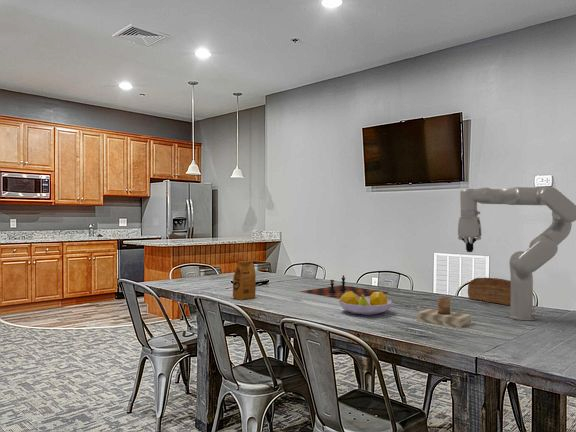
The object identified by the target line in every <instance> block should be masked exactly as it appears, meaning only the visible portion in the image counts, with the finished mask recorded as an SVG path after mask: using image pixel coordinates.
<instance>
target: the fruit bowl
mask: <svg viewBox="0 0 576 432" xmlns="http://www.w3.org/2000/svg"><path fill="white" fill-rule="evenodd" d="M380 291H381V292H373V293H372V294H371V295H370V296H367V297H364V295H362V297H358V295H356V294H355V293H353V292H352V291H349V292H346V293H344V294H343V295H342V296H341V298H340V299H338V300H337V301H338V304H339V305H340V306H341V308H342V309H343V310H345V311H347V312H349V313H351V314H353V315H360V314H361V316H373V315H378V314H382V313H384V312H385V311H387V310H389V309H390V308H391V306H392V300H391V299H388V298H387V295H386V294H384V293H383V292H382V291H383V290H380Z"/></svg>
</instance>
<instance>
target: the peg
mask: <svg viewBox="0 0 576 432" xmlns="http://www.w3.org/2000/svg"><path fill="white" fill-rule="evenodd" d="M437 298H438V299H437V310H438V314H443V315H448V314H450V312H451V298H450V297H446V296H439V297H437Z"/></svg>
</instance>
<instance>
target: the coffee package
mask: <svg viewBox="0 0 576 432" xmlns="http://www.w3.org/2000/svg"><path fill="white" fill-rule="evenodd" d="M236 264H237V266H236V268H235V269H236V270H235V272H234V275H233V279H232V297H233V299H235V300H239V301H243V300H251V299H255V298H256V287H257V286H256V285H257V284H256V282H257V280H256V270H255V267H254V263H253V260H247V261H244V260H242V261H241V260H240V261H239V260H238V261H236Z"/></svg>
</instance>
